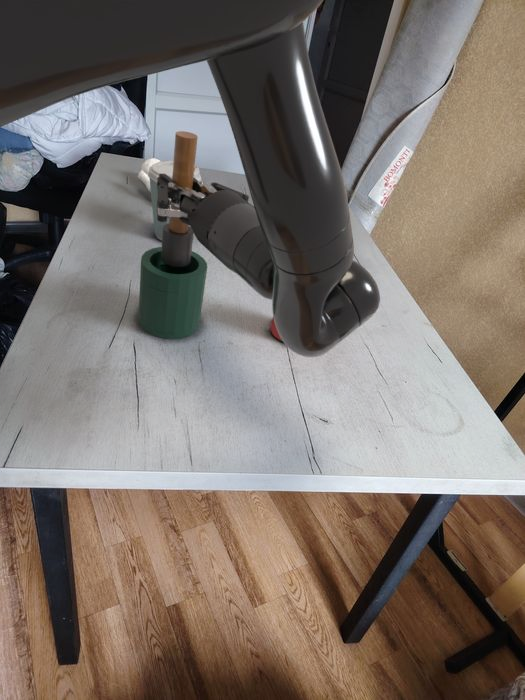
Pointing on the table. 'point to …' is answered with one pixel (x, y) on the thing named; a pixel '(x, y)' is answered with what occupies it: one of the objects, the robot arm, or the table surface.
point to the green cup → (171, 295)
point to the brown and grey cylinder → (176, 232)
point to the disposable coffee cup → (153, 175)
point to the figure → (145, 169)
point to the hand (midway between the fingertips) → (172, 180)
